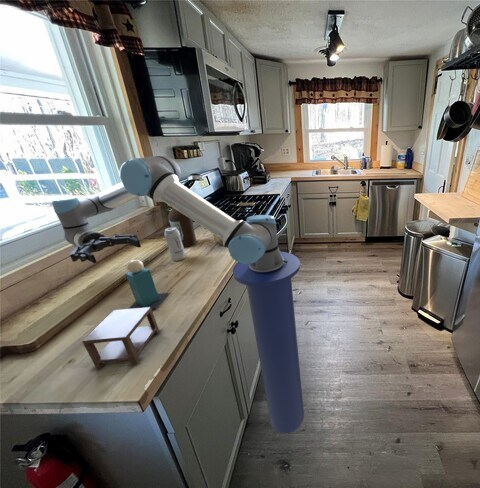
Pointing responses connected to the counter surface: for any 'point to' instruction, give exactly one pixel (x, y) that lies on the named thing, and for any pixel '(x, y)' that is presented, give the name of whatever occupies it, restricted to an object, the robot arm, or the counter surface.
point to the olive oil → (183, 227)
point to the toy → (141, 283)
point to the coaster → (153, 305)
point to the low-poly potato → (218, 239)
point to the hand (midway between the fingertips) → (117, 251)
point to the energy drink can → (174, 243)
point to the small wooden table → (121, 336)
